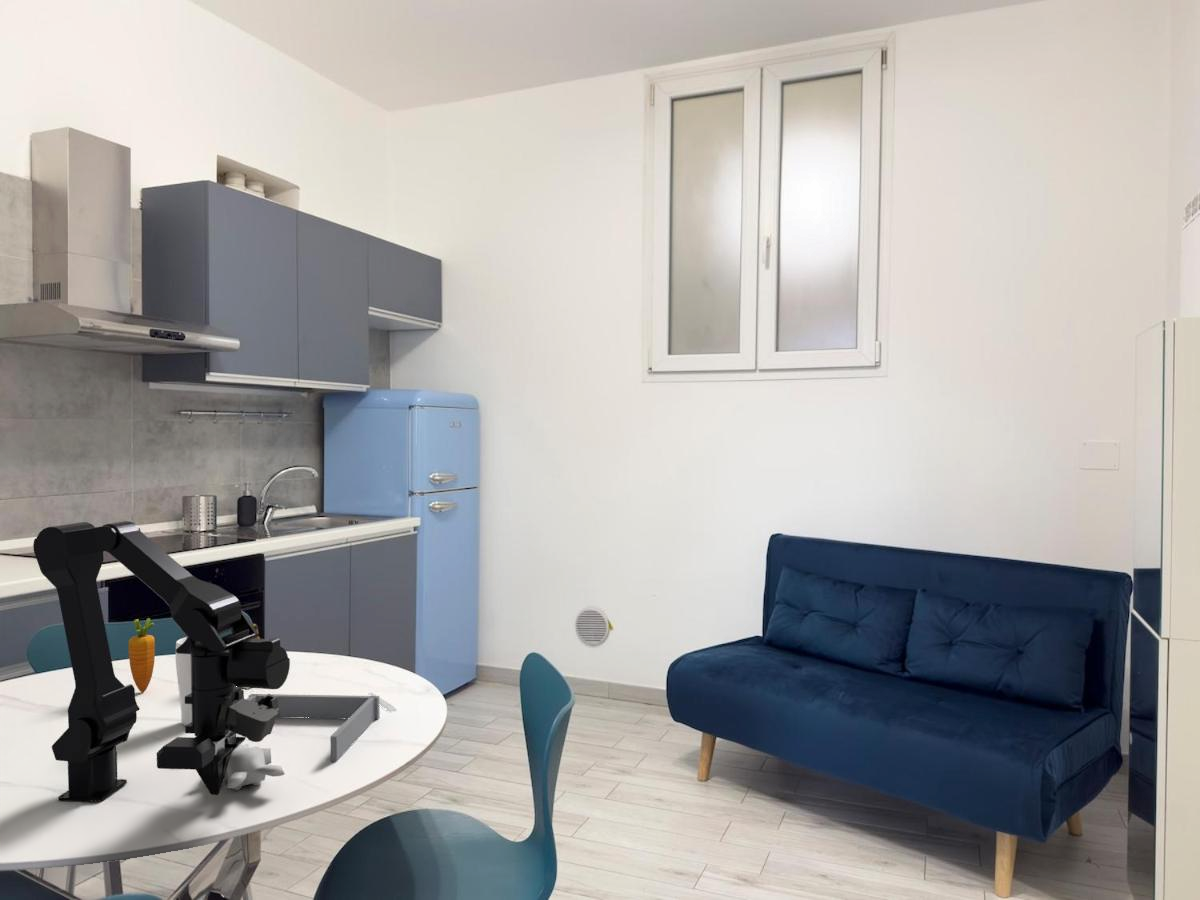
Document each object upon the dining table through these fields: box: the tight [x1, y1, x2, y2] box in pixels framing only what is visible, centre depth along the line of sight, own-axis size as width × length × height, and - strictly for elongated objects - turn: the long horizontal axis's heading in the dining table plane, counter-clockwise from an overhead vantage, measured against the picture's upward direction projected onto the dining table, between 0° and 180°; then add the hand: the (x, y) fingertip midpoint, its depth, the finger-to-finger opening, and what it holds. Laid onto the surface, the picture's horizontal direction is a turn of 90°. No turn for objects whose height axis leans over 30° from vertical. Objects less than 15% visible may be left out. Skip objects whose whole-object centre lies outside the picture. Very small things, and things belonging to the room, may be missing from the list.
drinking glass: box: [175, 636, 192, 726], centre depth 154 cm, size 7×7×15 cm
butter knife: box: [367, 692, 397, 712], centre depth 171 cm, size 1×27×3 cm
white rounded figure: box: [224, 743, 286, 791], centre depth 128 cm, size 10×5×15 cm
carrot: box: [128, 617, 156, 693], centre depth 171 cm, size 5×5×15 cm
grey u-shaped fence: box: [245, 693, 381, 762], centre depth 147 cm, size 20×24×4 cm
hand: (215, 794), depth 121 cm, fingers closed
